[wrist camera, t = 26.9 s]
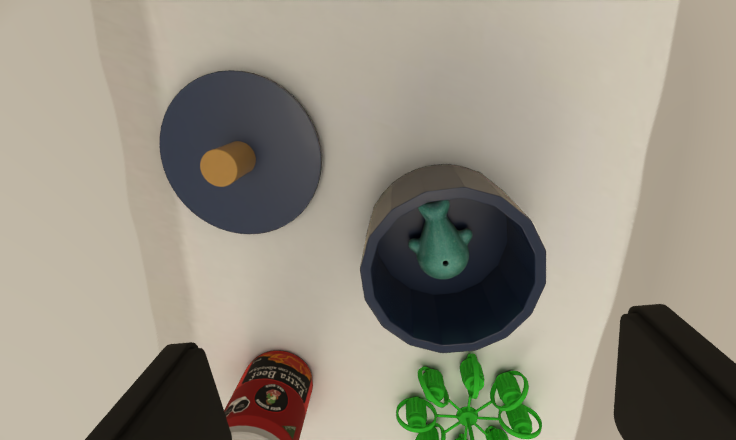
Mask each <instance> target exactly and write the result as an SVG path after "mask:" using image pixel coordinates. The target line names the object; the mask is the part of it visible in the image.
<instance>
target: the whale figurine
mask: <svg viewBox="0 0 736 440" xmlns="http://www.w3.org/2000/svg"><path fill="white" fill-rule="evenodd" d="M449 207H450V202H449V200H441V201H436V202H432V203H426V204H424V205H422V206H420V207H418V210H419V212H420V214H421V215H422V216H423V217H424V218H425V224H424V227H423V230H422V233H421V236H420V238H418V239H415V238H413V239H411V240H409V242H408V247H409V248H410V249H411V250H412V251H413V252H414V253H416V255H417V261H418V264H419V266H420V268H421V269H422V270H423V271H424V272H425V273H426V274H427V275H429V276H431V277H433V278H436V279H449V278H453V277H455V276H457V275H459V274H460V273H461V272H462V271H463V270H464V269H465V267H466V265H467V263H468V260H469V249H468V244H469V242H470V240H471V238H472V235H473V234H472V231H471V230H470V229H463V230H460V231H459V230H457V229H456V228H455V226H454V225H453V224H452V222H451V221H450V220H449V219H448V217H447V212H448V210H449Z"/></svg>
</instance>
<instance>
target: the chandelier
mask: <svg viewBox="0 0 736 440" xmlns="http://www.w3.org/2000/svg"><path fill="white" fill-rule="evenodd" d="M423 370H424V371H426V372H425V373H424V374H422V371H423ZM460 372H461V376H462V381H463V383H464V385H465V387H466V388H467V389H468V394H469V399H468V407H462V408H459V407H457V406H456V405H455V404H454V403H453V402H452V401H451V400H450V399H449V396H448V392H447V390H446V388H445V386H444V381H443V376H442V374H441V373H440V372H439V371H438V370H435V369H430V368H429V367H427V366H423V367H422V368H420V369H419V370H418V379H419V382H420V385H421V387H422V389H423V392H424V394H425V396H426V398H427V400H429V401H431V402H433V403H434V404H435V405H437V406H438V407H441V408H443V407H445V406H446V405H448V403H449V402H450V403H451V404H452V405H453V406H454V407H455V408H456V409H457V410H458V411H457V414H456V415H441V414H437V413H436V410H435V408H434V407H433V405H432V404H431V403H429V402H428V401H426V400H424V399H421V398H419V397H412V398H408V399H405V400H403V401H402V402H400V403H399V405H398V406H397V410H396V417H397V420H398V422H399V424H400V425H401V426H402V427H403V428H405V429H406V430H408V431H411V432H416V433H419V434H418V435H417V437H416V439H415V440H439V435H438V431H437V429H436V428H435V427H440V429H441V440H445V439H446V434H445V433H447V432H448V431H450V430H451V429H453V428H454V427H456V426H457V425H459V424H460V423H461V424H462V425H464V426H465V434H461V433H460V434H459V437H458V438H457V439H455V440H467V438H466V437H467V429H468V430H469V435H470V440H474V436H473V431H472V427H471V426H472V425H475V426H476V427H477V428H478V429H479V430H480V431H482V432H483V433H484V434H485V435H486V439H487V440H509V439H508V436H507V434H506V433H505V432H504V431H503V430H501V429H496V428H495V427H493V426H489V427H488V428H486V430H485V431H484V430H483V429H482V428H481V427H480V426H478V425H477V424H476V422H477V419H485V420H499V423H500V425H501V426H502V427H503V429H504V430H505V431H507V432H508V433H509V434H511V435H513V436H515V437H518V438H521V439H532V438H535V437H537V436H538V435H539V434H540V432H541V428H542V422H541V419H540V417H539V416H538V414H537V413H536V412H535V411H533V410H532V409H531V408H529V407H527V406H525V405H523V404H521V403H522V402H523V401H524V399H525V398H526V396H527V393H528V389H529V385H528V381H527V379H526V377H525V376H524V375H523V374H522V373H520V372H518V371H508V372H505V373H501V374H500V375H498V376H497V378H496V380H495V382H494V384H493V386H492V388H491V392H490V399H491V401H489V402H488V403H486V404H485V405H483V406H482V407H480V408H479V409H477V410H475V409H474V408H472V407H470V403H471V399H477V397H478V394H479V391H480V390H481V389H482V388H483V387H484V375H483V372H482V368H481V365H480V363H479V362H478V361H477V357H476V355H475V354H470V353H469V354H468V356H467V359H465V360H464V361H462V363H461V365H460ZM513 375H519V376H522V378H523V380H524V388H523V391H522V394H521V392H520V388H519V385H518V383H517V380H516V378H515V377H514V376H513ZM496 389H497V390H498V393H499V396H500V399H501V400H502V401H503V403H504V404H505V405H503V406H498V405H496V403H495V398H494V396H495V391H496ZM443 397H444V403H442V402H440V401H441V400H442V399H443ZM491 403H493V405H494V406H495V407H496V408H498V409H499V414H498V418H495V417H478V413H477V412H479V411H480V410H482V409H483V408H485V407H486V406H488V405H490V404H491ZM405 404H406V420H407V422H408V425H407V424H405V423H404V422H403V421H402V420H401V419H400V417H399V414H398V412H399V409H400V408H401V407H402V406H403V405H405ZM426 406H428V407H429V408H430V409H431V410H432V411H433V413H434V417H435V418H434V420H433V422H432V423H430V424H428V425H426V421H427V412H426ZM502 411H506V414H507V417H508V420H509V423H510V426H511V428H512V429H513V430H512V429H510V428H509V427H508V426H506V425H505V423H504V422H503V421H502V419H501V413H502ZM528 412H529V413H530V414H532V415H533V416H534V417H535V418H536V420H537V421H538V424H539V429H538V430H537V431H536V432H534V433H532V434H530V433H531V432H532V422H531V419H530V417H529V414H528ZM514 413H515V414H514ZM437 417H449V418H457V419H458V420H459V422H457V423H456V424H454V425H453V426H451V427H450V428H448V429H447V430H444V429H443V427H442V426H440V425H439V424H438V423H436V418H437ZM490 430H491V431H490ZM428 432H429V433H428Z"/></svg>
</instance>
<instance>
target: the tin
mask: <svg viewBox="0 0 736 440" xmlns="http://www.w3.org/2000/svg"><path fill="white" fill-rule="evenodd" d="M441 200H449V202H450V207H449V210H448V212H447V217H448V219H449V220H450V221H451V222H452V224H453V225H454V226H455V228H456V229H457V230H459V231H460V230H463V229H470V230H471V231H472V234H473V235H472V238H471V240H470V242H469V244H468V249H469V260H468V263H467V265H466V267H465V269H464V270H463V271H462V272H461V273H460V274H459V275H457V276H455V277H453V278H449V279H436V278H433V277H431V276H429V275H427V274H426V273H425V272H424V271H423V270H422V269H421V268H420V266H419V264H418V261H417V255H416V253H414V252H413V251H412V250H411V249H410V248H409V247H408V242H409V240H411V239H413V238H415V239H418V238H420V236H421V233H422V230H423V227H424V224H425V218H424V217H423V216H422V215H421V214H420V212H419V210H418V207H420V206H422V205H424V204H426V203H432V202H436V201H441ZM360 273H361V279H362V285H363V291H364V298H365V301H366V302H367V304H368V305H369V307H370V308H371V310H372V311H373V313H374V315H375V316H376V318H377V319H378V321H379V322H380V324H381V325H382V326H383V327H384V328H385V329H387V330H388V331H390V332H391V333H393V334H394V335H396V336H397V337H398V338H400V339H401V340H403V341H404V342H406V343H407V344H409V345H412V346H415V347H419V348H423V349H427V350H431V351H435V352H439V353H451V352H464V351H475V350H478V349H481V348H483V347H485V346H488V345H490V344H492V343H495V342H497V341H500V340H502V339H504V338H506V337H508V336H509V335H510V334H511V333H512V332H513V331H514V330H515V329H516V328H517V327H519V326H520V325H521V324H522V323H523V322H524V321H525V320H526V319H527V318H528V317H529V316H530V315H531V314H532V313H533V310H534V308H535V306H536V304H537V302H538V300H539V297H540V295H541V293H542V291H543V289H544V287H545V284H546V250H545V247H544V245H543V243H542V241H541V239H540V237H539V235H538V233H537V231H536V229H535V227H534V225H533V223H532V221H531V220H530V218H529V217H528V216H527V215H526V214H525V213H524V212H523V211H522V210H521V209H520V208H519V207H518V206H517V205H516V204H515V203H514V202H513V201H512V200H511V199H510V198H509V197H508V196H507V194H506V193H505V192H504V191H503V190H502V189H500V188H499V187H498V186H497V185H495V184H494V183H493V182H492V181H491V180H489V179H488V178H486V177H485V176H484V175H483V174H481V173H480V172H477V171H474V170H471V169H469V168H466V167H462V166H457V165H451V164H441V165H431V166H426V167H422V168H418V169H416V170H413V171H411V172H409V173H407V174H405V175H404V176H402V177H400V178H399V179H397V180H396V181H395V182H393V183H392V184H391V185H390V186H389V187H388V188H387V189H386V191H385V192H384V193H383V194H382V196H381V197H380V198H379V200H378V201H377V203H376V204H375V206H374V208H373V212H372V215H371V219H370V223H369V227H368V230H367V235H366V240H365V245H364V250H363V256H362V261H361V266H360Z"/></svg>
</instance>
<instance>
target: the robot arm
mask: <svg viewBox="0 0 736 440" xmlns="http://www.w3.org/2000/svg"><path fill="white" fill-rule="evenodd" d="M614 419H615V423H616V426H617V429H618V431H619V433H620V434H621V436H622V438H623V439H624V440H736V363H734V362H733V361H732V360H731V359H729V358H728V357H727V356H726V355H725V354H724V353H722V352H721V351H720V350H719V349H718V348H716V347H715V346H714V345H713V344H712V343H710V342H709V341H708V340H707V339H706V338H704V337H703V336H702V335H701V334H700V333H699V332H697V331H696V330H695V329H694V328H693V327H691V326H690V325H689V324H688V323H687V322H685V321H684V320H683V319H682V318H680V317H679V316H678V315H677V314H676V313H675V312H673V311H672V310H671V309H670V308H669V307H667V306H666V305H663V304H655V305H642V306H633V307H631V308H630V309H629V311H628V314H624V315H622V317H621V320H620V332H619V347H618V361H617V374H616V388H615V403H614ZM85 440H232V435H231V431H230V428H229V425H228V422H227V419H226V416H225V412H224V409H223V406H222V403H221V400H220V397H219V394H218V391H217V388H216V385H215V382H214V379H213V375H212V372H211V369H210V366H209V363H208V360H207V357H206V354H205V352H204V350H203V349H202V348H198V346H197V345H196V344H195V343H192V342H191V343H179V344H170V345H167V346H166V347H165V348H164V349H163V350H162V351H161V352H160V353H159V355H158V356H157V357H156V358H155V359H154V360H153V362H152V363H151V364H150V365H149V366H148V367H147V368H146V370H145V371H144V372H143V373H142V374H141V375H140V377H139V378H138V379H137V380H136V381H135V382H134V384H133V385H132V386H131V387H130V388H129V389H128V390H127V392H126V393H125V394H124V395H123V396H122V397H121V398H120V400H119V401H118V402H117V403H116V404H115V406H114V407H113V408H112V409H111V410H110V411H109V412H108V414H107V415H106V416H105V417H104V418H103V419H102V420H101V422H100V423H99V424H98V425H97V426H96V427H95V429H94V430H93V431H92V432H91V433H90V434H89V435H88V437H87V438H86V439H85Z"/></svg>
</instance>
